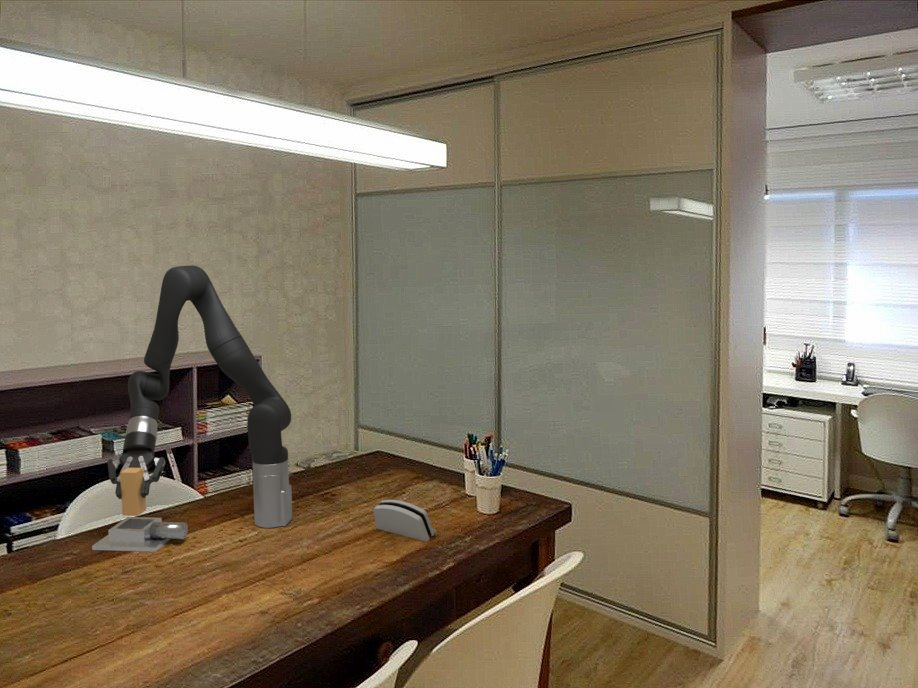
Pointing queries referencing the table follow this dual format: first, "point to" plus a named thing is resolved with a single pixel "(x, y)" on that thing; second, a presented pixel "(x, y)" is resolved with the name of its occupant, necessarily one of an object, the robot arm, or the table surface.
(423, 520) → the grey rounded block
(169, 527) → the bracket head
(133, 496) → the upright wooden block
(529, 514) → the table surface
